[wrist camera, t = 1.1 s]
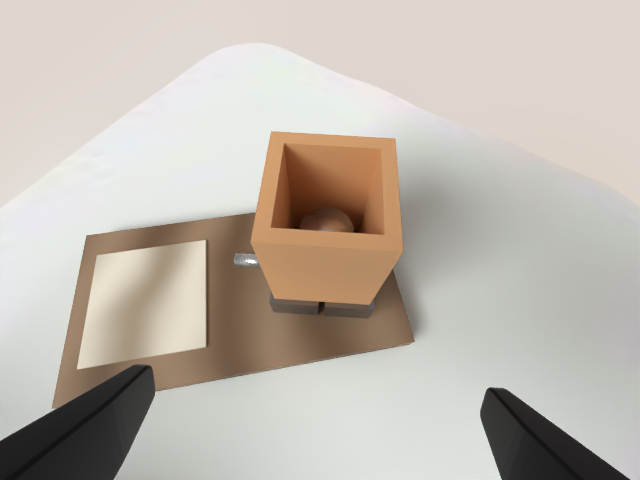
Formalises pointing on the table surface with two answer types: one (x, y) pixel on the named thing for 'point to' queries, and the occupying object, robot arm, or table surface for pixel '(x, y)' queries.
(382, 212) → the tan cardboard box
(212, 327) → the board
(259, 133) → the table surface
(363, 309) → the vise
